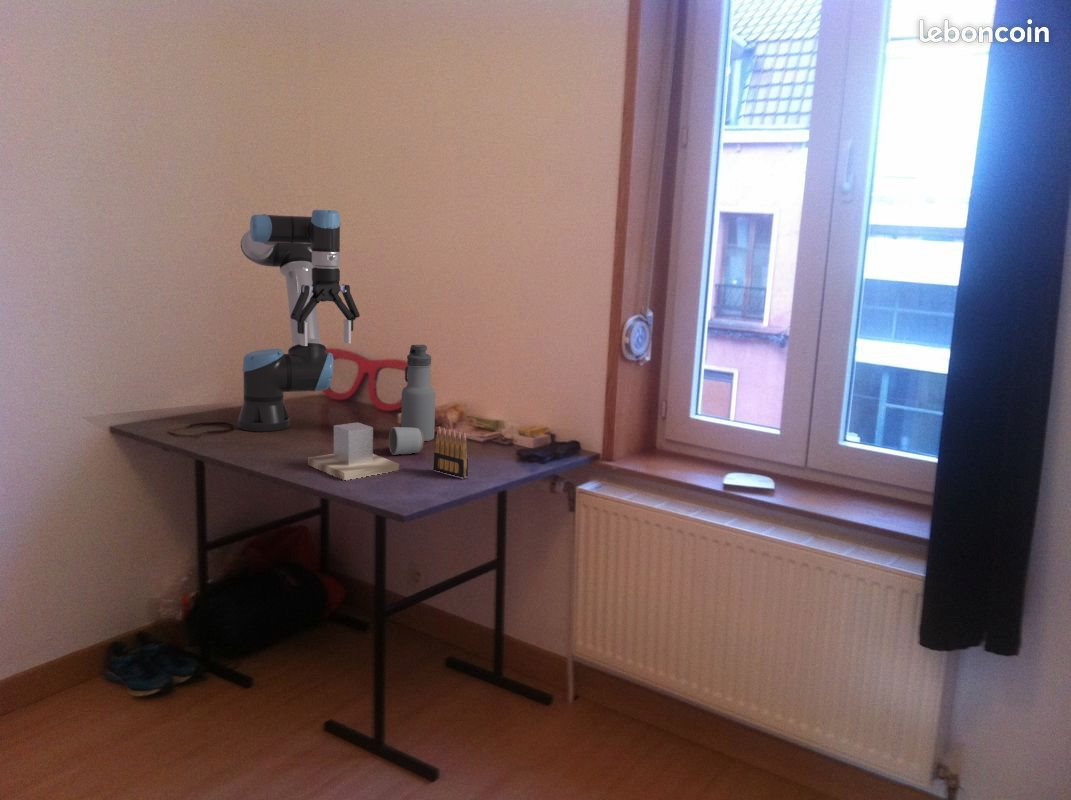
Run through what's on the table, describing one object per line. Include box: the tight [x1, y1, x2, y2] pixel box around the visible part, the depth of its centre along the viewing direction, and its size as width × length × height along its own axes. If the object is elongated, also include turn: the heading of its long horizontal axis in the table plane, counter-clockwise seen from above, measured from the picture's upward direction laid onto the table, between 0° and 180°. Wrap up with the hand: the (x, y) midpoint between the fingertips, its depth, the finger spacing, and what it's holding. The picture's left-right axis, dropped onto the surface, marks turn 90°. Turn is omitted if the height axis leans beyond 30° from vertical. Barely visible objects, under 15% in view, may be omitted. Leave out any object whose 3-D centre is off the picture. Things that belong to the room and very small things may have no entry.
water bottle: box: [400, 344, 436, 442], centre depth 269 cm, size 10×10×28 cm
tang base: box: [307, 453, 400, 481], centre depth 236 cm, size 18×16×8 cm
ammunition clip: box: [432, 426, 469, 478], centre depth 233 cm, size 11×2×12 cm, turn 51°
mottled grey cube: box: [333, 422, 374, 466], centre depth 235 cm, size 7×7×9 cm
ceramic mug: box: [388, 426, 425, 456], centre depth 255 cm, size 11×8×8 cm
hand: (325, 344), depth 255 cm, fingers open, 13 cm apart
